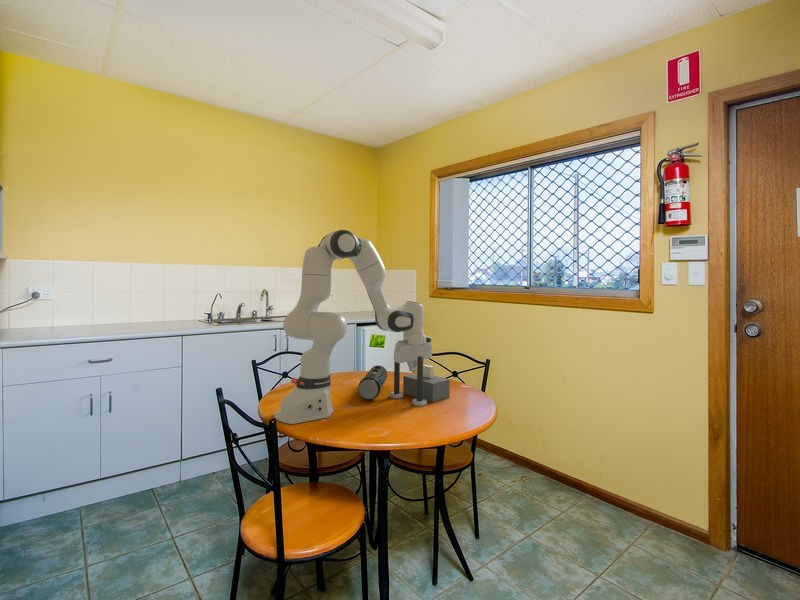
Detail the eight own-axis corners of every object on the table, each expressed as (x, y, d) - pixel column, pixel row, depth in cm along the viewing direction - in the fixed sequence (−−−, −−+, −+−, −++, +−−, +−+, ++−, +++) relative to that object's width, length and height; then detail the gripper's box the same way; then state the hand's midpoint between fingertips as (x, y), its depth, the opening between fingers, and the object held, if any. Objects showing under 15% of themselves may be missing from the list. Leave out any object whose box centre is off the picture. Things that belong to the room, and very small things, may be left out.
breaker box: (432, 402, 176) (433, 383, 175) (403, 393, 189) (403, 376, 188) (449, 397, 183) (449, 379, 183) (419, 389, 196) (420, 372, 196)
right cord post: (419, 407, 169) (420, 358, 168) (409, 403, 173) (410, 356, 172) (429, 404, 173) (430, 356, 172) (419, 401, 177) (420, 354, 176)
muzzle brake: (387, 386, 202) (388, 365, 201) (379, 403, 174) (379, 378, 173) (368, 385, 203) (368, 364, 202) (356, 402, 175) (357, 378, 174)
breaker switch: (430, 378, 184) (430, 367, 184) (422, 376, 187) (422, 365, 187) (433, 377, 185) (433, 366, 185) (425, 375, 189) (425, 364, 189)
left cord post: (396, 399, 179) (397, 353, 178) (387, 396, 183) (387, 351, 182) (406, 397, 183) (406, 352, 182) (396, 394, 187) (397, 350, 186)
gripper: (401, 341, 169) (400, 375, 170) (434, 338, 183) (433, 369, 184) (390, 340, 174) (390, 372, 174) (424, 336, 188) (423, 367, 188)
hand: (412, 371), depth 179 cm, fingers closed
